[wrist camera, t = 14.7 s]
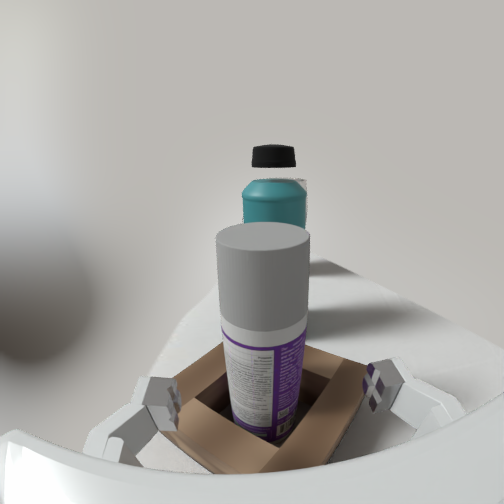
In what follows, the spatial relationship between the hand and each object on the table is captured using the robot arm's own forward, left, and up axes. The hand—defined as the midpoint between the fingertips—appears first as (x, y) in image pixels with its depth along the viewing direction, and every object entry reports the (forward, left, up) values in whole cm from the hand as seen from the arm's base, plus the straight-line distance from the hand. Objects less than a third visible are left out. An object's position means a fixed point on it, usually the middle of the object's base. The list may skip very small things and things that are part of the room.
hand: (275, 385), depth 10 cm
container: (+3, -4, -10) cm, 11 cm away
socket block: (+3, -4, -11) cm, 12 cm away
